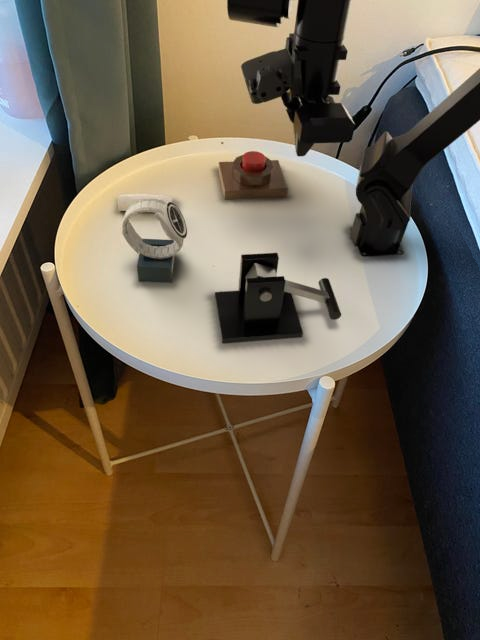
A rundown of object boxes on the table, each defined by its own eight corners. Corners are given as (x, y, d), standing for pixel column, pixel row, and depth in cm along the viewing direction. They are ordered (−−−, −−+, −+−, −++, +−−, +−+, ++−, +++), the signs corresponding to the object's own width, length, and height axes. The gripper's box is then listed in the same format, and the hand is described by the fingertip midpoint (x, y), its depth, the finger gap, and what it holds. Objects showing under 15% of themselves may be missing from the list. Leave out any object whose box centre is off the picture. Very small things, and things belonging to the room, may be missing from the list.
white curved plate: (122, 198, 85) (120, 182, 83) (174, 200, 85) (173, 184, 83) (119, 213, 82) (116, 196, 80) (172, 215, 83) (171, 199, 80)
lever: (323, 289, 72) (333, 276, 71) (334, 323, 68) (346, 311, 67) (242, 265, 67) (252, 251, 65) (250, 301, 63) (260, 287, 61)
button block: (277, 168, 93) (279, 150, 90) (286, 197, 87) (289, 178, 85) (218, 170, 91) (219, 152, 89) (224, 199, 86) (225, 180, 83)
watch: (186, 285, 73) (184, 220, 65) (125, 283, 73) (116, 216, 65) (189, 257, 77) (187, 191, 69) (131, 254, 77) (123, 188, 68)
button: (262, 160, 88) (263, 150, 87) (266, 173, 86) (267, 163, 85) (240, 161, 88) (241, 151, 87) (243, 174, 86) (244, 164, 84)
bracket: (288, 293, 73) (297, 242, 67) (301, 339, 68) (312, 289, 61) (214, 298, 72) (215, 247, 65) (221, 345, 67) (224, 295, 60)
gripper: (237, 1, 67) (231, 120, 79) (263, 70, 55) (252, 199, 67) (325, 2, 69) (307, 119, 80) (370, 69, 56) (340, 195, 68)
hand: (300, 154), depth 74 cm, fingers closed
